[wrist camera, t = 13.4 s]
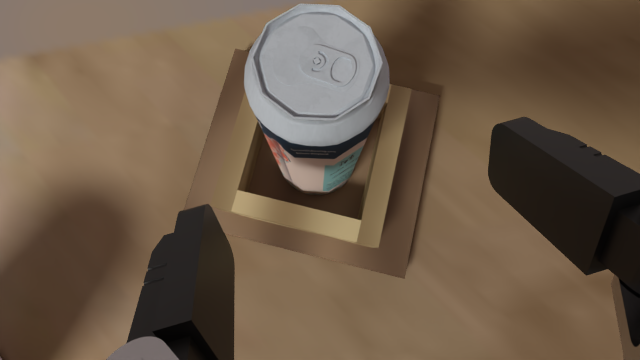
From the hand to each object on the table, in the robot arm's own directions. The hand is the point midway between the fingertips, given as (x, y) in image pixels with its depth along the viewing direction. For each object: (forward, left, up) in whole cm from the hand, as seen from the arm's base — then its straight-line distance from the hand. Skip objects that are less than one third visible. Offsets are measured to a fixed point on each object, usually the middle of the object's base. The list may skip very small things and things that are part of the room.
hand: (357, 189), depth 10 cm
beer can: (+2, -4, -12) cm, 13 cm away
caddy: (+2, -4, -13) cm, 14 cm away
